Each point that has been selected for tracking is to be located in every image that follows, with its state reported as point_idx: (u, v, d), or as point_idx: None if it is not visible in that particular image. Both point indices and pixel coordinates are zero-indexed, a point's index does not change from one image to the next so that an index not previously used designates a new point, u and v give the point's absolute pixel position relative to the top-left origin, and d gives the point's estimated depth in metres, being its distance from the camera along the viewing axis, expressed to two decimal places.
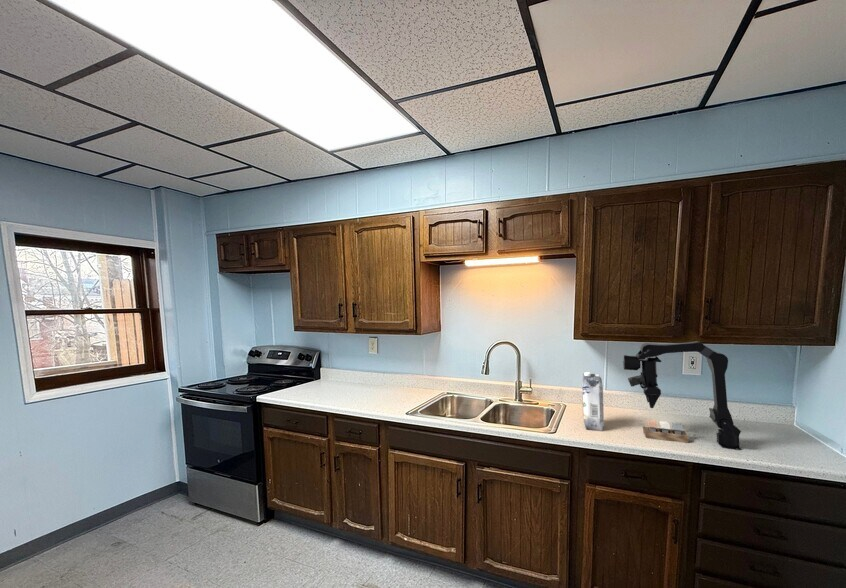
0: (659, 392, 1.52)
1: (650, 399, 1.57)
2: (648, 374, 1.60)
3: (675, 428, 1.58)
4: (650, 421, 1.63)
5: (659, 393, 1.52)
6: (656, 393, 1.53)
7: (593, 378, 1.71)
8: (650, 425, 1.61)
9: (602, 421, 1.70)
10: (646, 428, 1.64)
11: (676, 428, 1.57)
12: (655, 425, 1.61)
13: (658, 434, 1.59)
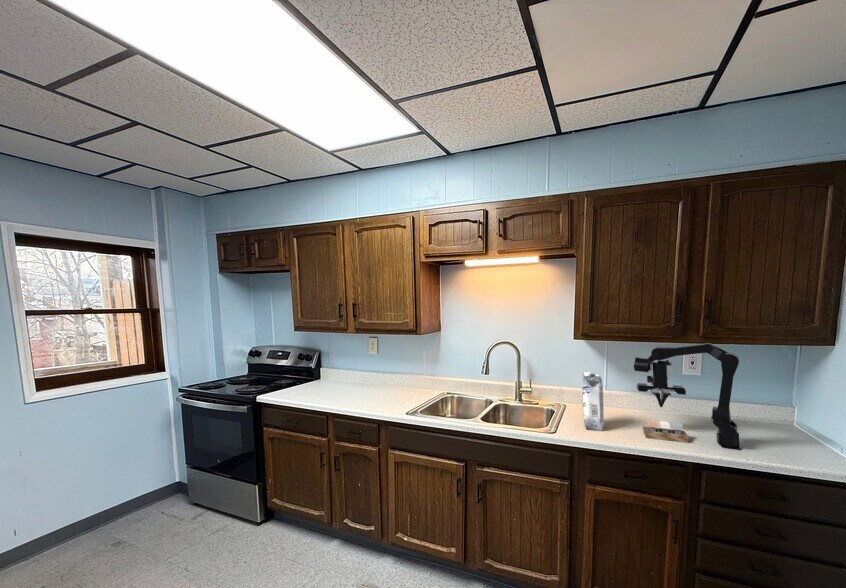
0: (638, 388, 1.68)
1: (656, 397, 1.68)
2: None
3: (675, 428, 1.58)
4: (650, 421, 1.63)
5: (638, 389, 1.68)
6: (638, 389, 1.69)
7: (593, 378, 1.71)
8: (650, 425, 1.61)
9: (602, 421, 1.70)
10: (646, 428, 1.64)
11: (676, 428, 1.57)
12: (655, 425, 1.61)
13: (658, 434, 1.59)
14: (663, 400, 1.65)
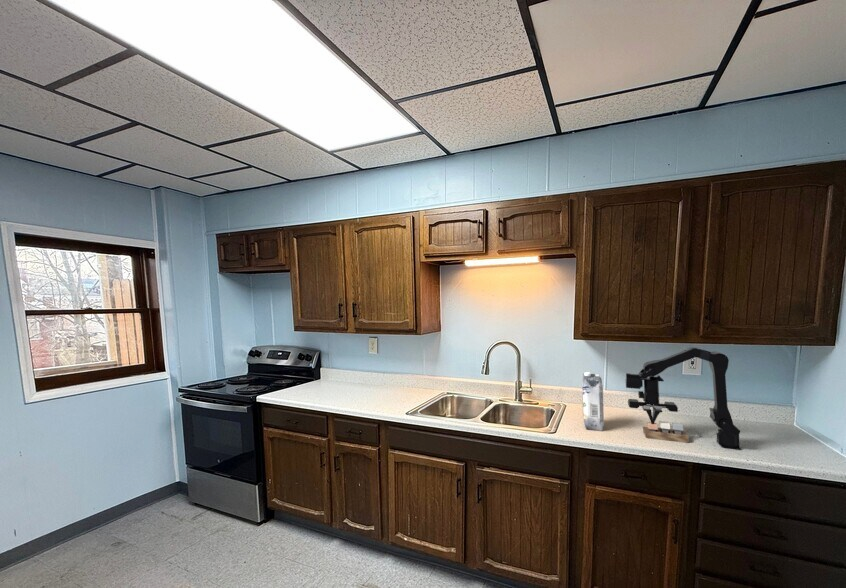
0: (629, 405, 1.64)
1: (648, 414, 1.64)
2: (644, 391, 1.64)
3: (675, 428, 1.58)
4: (650, 423, 1.63)
5: (629, 406, 1.64)
6: (629, 405, 1.65)
7: (593, 378, 1.71)
8: (650, 427, 1.61)
9: (602, 421, 1.70)
10: (646, 428, 1.64)
11: (676, 428, 1.57)
12: (655, 427, 1.61)
13: (658, 434, 1.59)
14: (654, 417, 1.61)
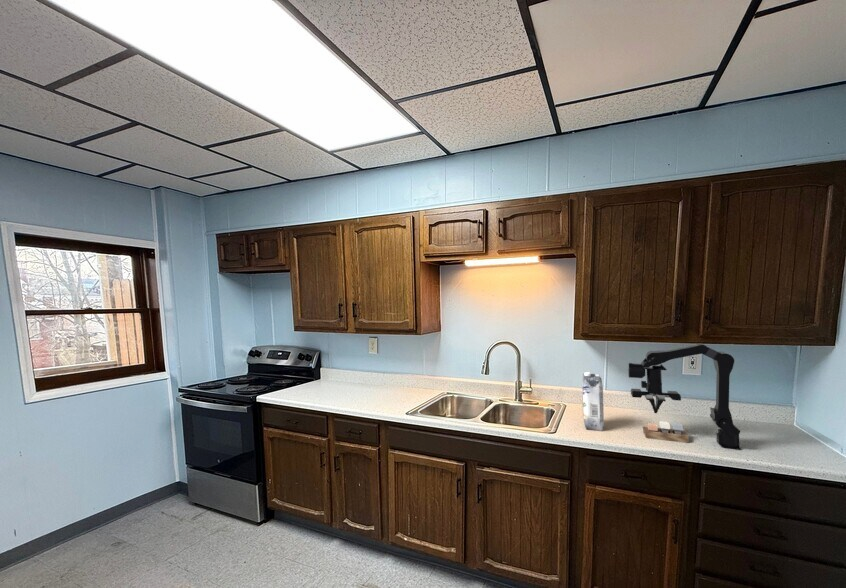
0: (632, 394, 1.63)
1: (651, 403, 1.63)
2: (647, 380, 1.64)
3: (675, 428, 1.58)
4: (650, 424, 1.63)
5: (632, 395, 1.63)
6: None
7: (593, 378, 1.71)
8: (650, 428, 1.61)
9: (602, 421, 1.70)
10: (646, 428, 1.64)
11: (676, 428, 1.57)
12: (655, 428, 1.61)
13: (658, 434, 1.59)
14: (658, 406, 1.60)
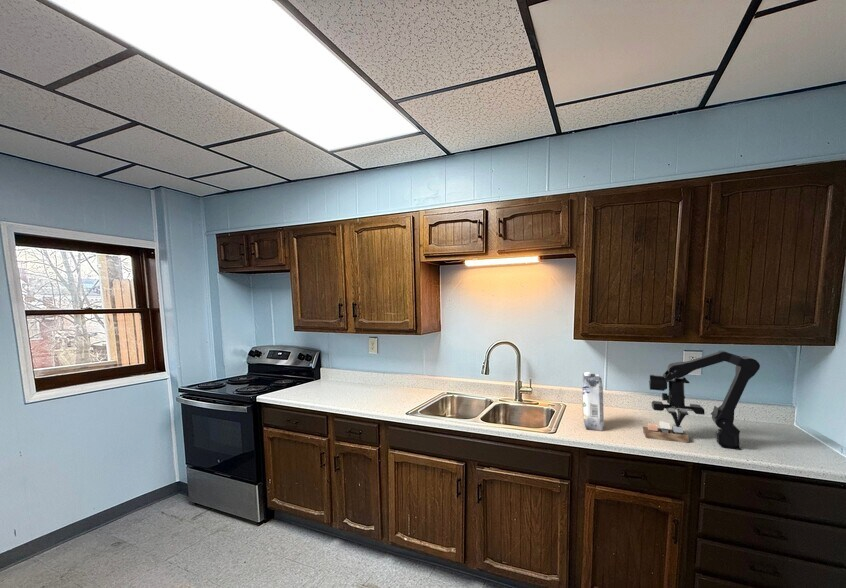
0: (653, 407, 1.60)
1: (673, 416, 1.60)
2: None
3: (675, 430, 1.58)
4: (650, 424, 1.63)
5: (653, 408, 1.60)
6: (653, 407, 1.61)
7: (593, 378, 1.71)
8: (650, 428, 1.61)
9: (602, 421, 1.70)
10: (646, 428, 1.64)
11: (676, 430, 1.57)
12: (655, 428, 1.61)
13: (658, 434, 1.59)
14: (680, 420, 1.57)
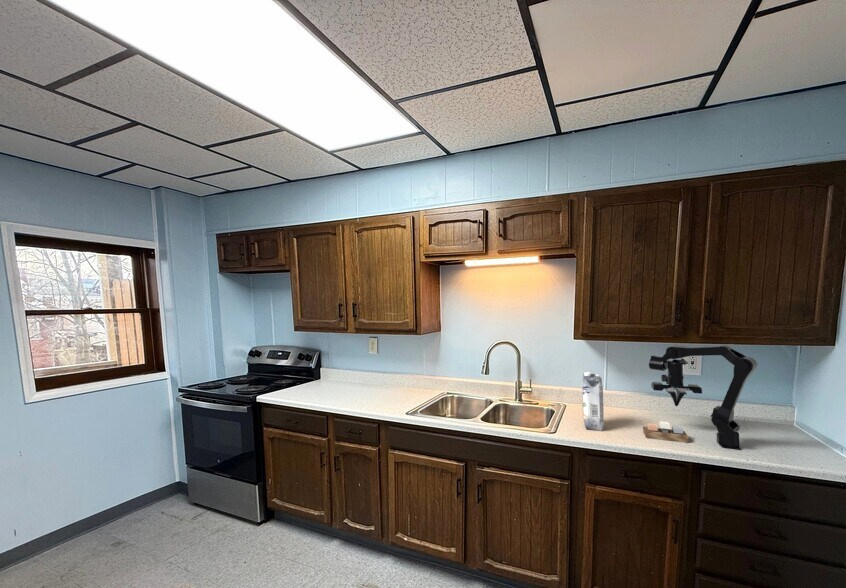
0: (653, 387, 1.67)
1: (672, 396, 1.67)
2: (668, 374, 1.67)
3: (675, 431, 1.58)
4: (650, 424, 1.63)
5: (653, 388, 1.67)
6: (653, 388, 1.68)
7: (593, 378, 1.71)
8: (650, 428, 1.61)
9: (602, 421, 1.70)
10: (646, 428, 1.64)
11: (676, 431, 1.57)
12: (655, 428, 1.61)
13: (658, 434, 1.59)
14: (679, 399, 1.64)
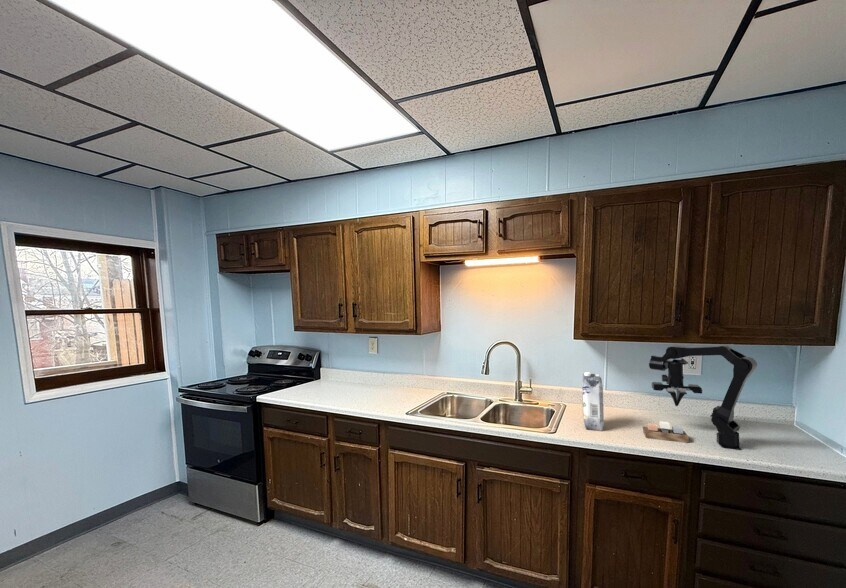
0: (653, 387, 1.67)
1: (672, 396, 1.67)
2: (668, 374, 1.68)
3: (675, 431, 1.58)
4: (650, 424, 1.63)
5: (653, 388, 1.67)
6: (653, 388, 1.68)
7: (593, 378, 1.71)
8: (650, 428, 1.61)
9: (602, 421, 1.70)
10: (646, 428, 1.64)
11: (676, 431, 1.57)
12: (655, 428, 1.61)
13: (658, 434, 1.59)
14: (679, 399, 1.64)
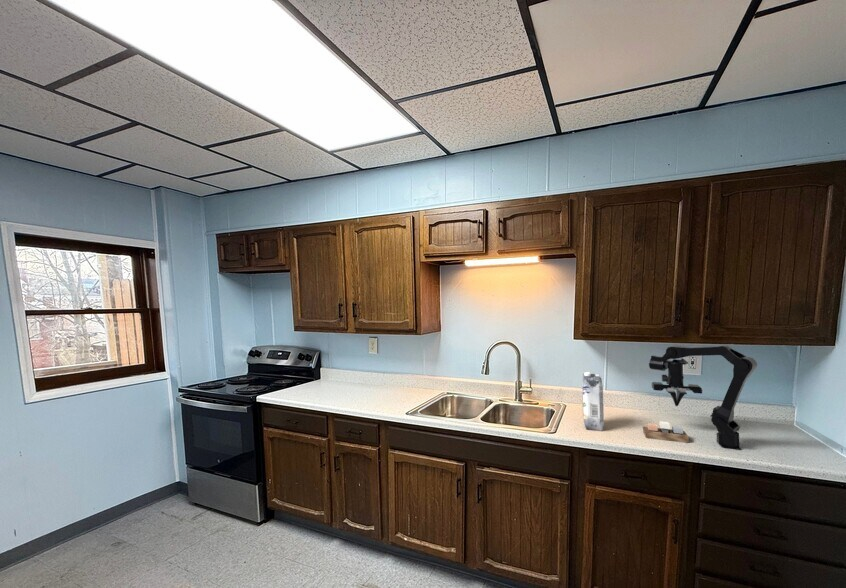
0: (653, 387, 1.67)
1: (672, 396, 1.67)
2: (668, 374, 1.68)
3: (675, 431, 1.58)
4: (650, 424, 1.63)
5: (653, 388, 1.67)
6: (653, 388, 1.68)
7: (593, 378, 1.71)
8: (650, 428, 1.61)
9: (602, 421, 1.70)
10: (646, 428, 1.64)
11: (676, 431, 1.57)
12: (655, 428, 1.61)
13: (658, 434, 1.59)
14: (679, 399, 1.64)
